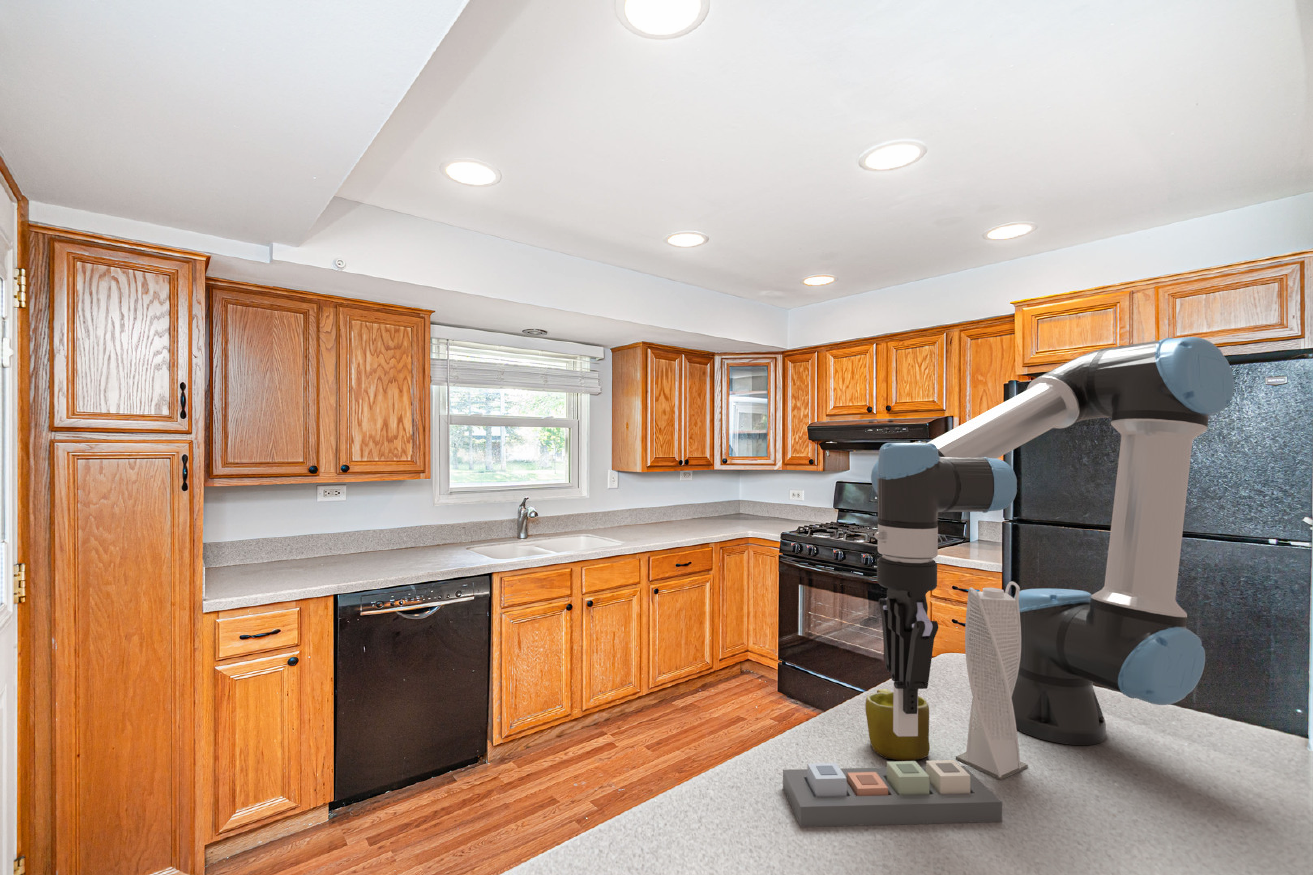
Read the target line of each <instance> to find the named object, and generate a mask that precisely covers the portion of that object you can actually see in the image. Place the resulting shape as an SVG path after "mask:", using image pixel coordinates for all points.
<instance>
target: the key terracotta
mask: <svg viewBox="0 0 1313 875" xmlns="http://www.w3.org/2000/svg"><path fill="white" fill-rule="evenodd" d="M847 783H848V784H849V786H850V787H851V789H852V791H853V792H854V794H855V795H856V796H879V795H888V787H887V786H886V785H885V783H884V782H883V781H882V779H881V778H880V777H879V775H878V774H877V773H876V772H853V773H847Z"/></svg>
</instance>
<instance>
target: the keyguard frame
mask: <svg viewBox="0 0 1313 875" xmlns="http://www.w3.org/2000/svg"><path fill="white" fill-rule="evenodd" d="M960 766H961V767H962V768H963V769H964V770H965V771H966V772H967V773H968V774H969V775H970V793H964V794H939V793H938V792H937V791H936V790H935V789H934V788H933V787H932V786H931V784H930V783H929V794H922V795H897V794H896V792H895V791H894V790H893V788H892V787H891V786H890V784H889V783H888V782H887V766H886V767H853V768H852V767H849V768H847V767H846V768H845V767H844V768H842V767H840V769H841V770H842V772H843V773H844V775H845V777H846V778H847V773H853V772H876V773H877V774H878V775H879V777H880V778H881V779H882V781H883V782H884V783H885V785H886V786H887V787H888V795H879V796H856V795H855V794H854V792H853V791H852V789H851V787H850V786H849V784H848V783H847V796H837V797H814V796H813V794H812V792H811V790H810V788H809V786H808V784H807V768H799V769H796V768H795V769H783V770H782V789H783V791H784V793H785V795H786V797H787V800H788V802H789V804H790V806H791V809H792V811H793V814H794V816H795V817H796V820H797V822H798V825H799V827H800V828H808V827H811V828H813V827H847V826H848V827H849V826H850V827H851V826H877V825H878V826H879V825H880V826H882V825H884V826H885V825H886V826H887V825H888V826H889V825H919V824H920V825H921V824H922V825H923V824H961V823H962V824H963V823H964V824H965V823H969V824H970V823H991V822H992V823H998V822H999V823H1002V822H1003V801H1002V800H1000V798H998V797H997V795H995V794H994V793H993V792H992V791H991V790H990V789H989V787H987V786H986V785H985V784H984V783H983V782H982V781H980V779H978V777H976V775H975V774H973V773H972V772H971V771H970V770H969V769H968V768H967V767H966V766H965V765H960ZM920 767H921V768H922V769H923V770H924V771H925V772H926V766H920Z"/></svg>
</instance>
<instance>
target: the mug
mask: <svg viewBox="0 0 1313 875" xmlns="http://www.w3.org/2000/svg"><path fill="white" fill-rule="evenodd" d="M864 705H865V716H866V723H867V729H868V730H867V731H868V736H869V741H870V746H871V748H872V749H873V750H874V751H875V753H876V754H877V755H879V756H880V757H882V758H885V759H886V760H894V761H895V760H896V761H916V760H917V761H918V760H923V759H924V758H927V757H928V756H929V754H930V749H931V747H930V739H929V737H930V705H929V702H928V701H927V700H926V699H925V698H924V697H921V696H919V695H918V736H897V735H896V734H895V733H894V732H893V691H891V690H890V689H888V688H879V689H877V690H876V692H874V693H870V694H868V695H867V696H866V699H865V704H864Z"/></svg>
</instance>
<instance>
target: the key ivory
mask: <svg viewBox="0 0 1313 875" xmlns="http://www.w3.org/2000/svg"><path fill="white" fill-rule="evenodd" d="M961 766H962V765H960V764H959V763H958V762H957V761H956V759H952V760H951V759H948V760H947V759H946V760H944V759H943V760H926V761H925V767H926V773H927V774H928V776H929V783H930V784H931V786H932V787H933V788H934V789H935V790H936V791H937V792H938V793H939V794H964V793H970V775H969V774H968V773H967V772H966V771H965V770H964V769H963V768H962V767H961Z"/></svg>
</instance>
